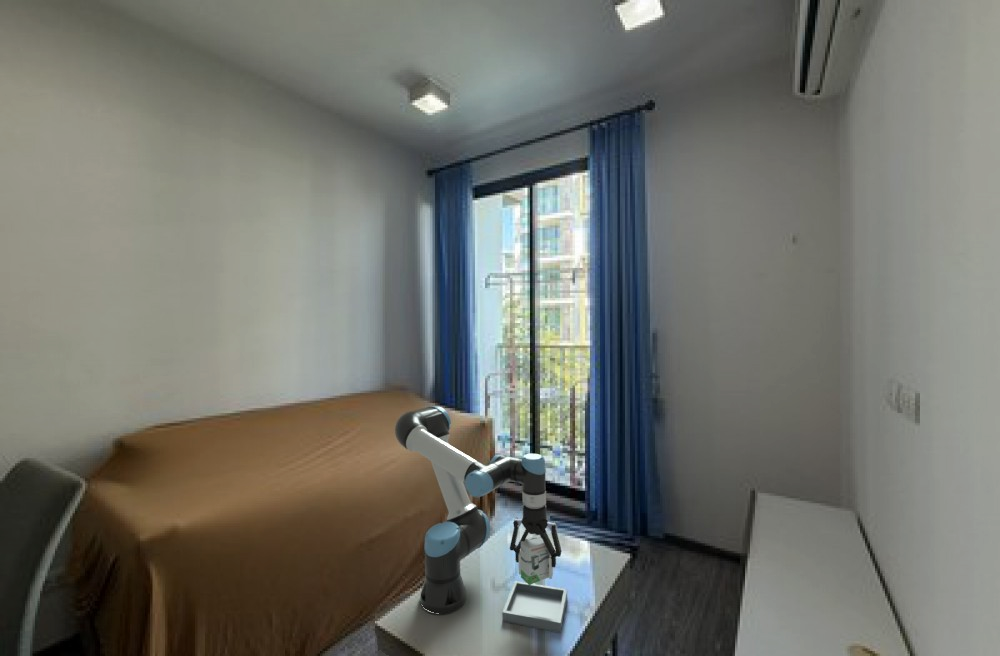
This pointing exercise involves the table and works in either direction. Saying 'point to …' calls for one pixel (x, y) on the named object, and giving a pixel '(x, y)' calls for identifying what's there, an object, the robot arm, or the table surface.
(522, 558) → the ink box
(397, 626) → the table surface
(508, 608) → the parts tray
